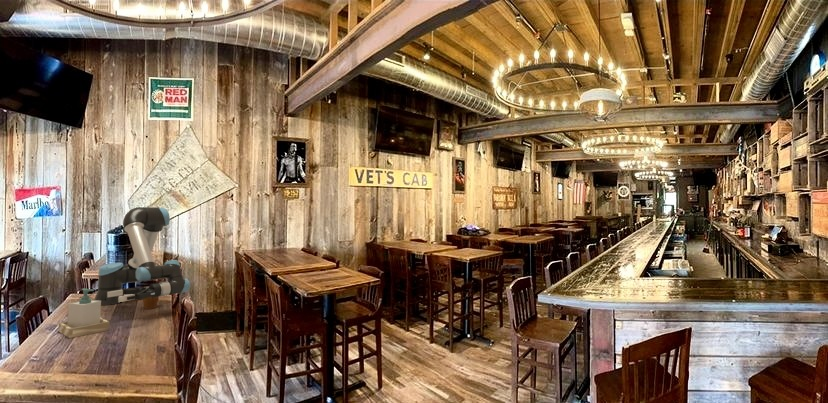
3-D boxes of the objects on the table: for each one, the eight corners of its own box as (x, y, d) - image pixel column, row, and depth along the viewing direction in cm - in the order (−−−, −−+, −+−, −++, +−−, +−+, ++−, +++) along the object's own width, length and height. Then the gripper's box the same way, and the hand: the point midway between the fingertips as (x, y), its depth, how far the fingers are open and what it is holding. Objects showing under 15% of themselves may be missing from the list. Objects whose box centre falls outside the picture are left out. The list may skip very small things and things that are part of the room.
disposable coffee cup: (152, 310, 226) (153, 289, 226) (136, 309, 226) (137, 288, 226) (163, 306, 235) (164, 286, 235) (148, 305, 235) (149, 285, 236)
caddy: (58, 331, 186) (58, 322, 186) (97, 324, 198) (97, 316, 198) (69, 338, 177) (69, 329, 177) (109, 330, 190) (109, 321, 190)
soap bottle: (81, 332, 183) (83, 291, 183) (67, 330, 185) (69, 289, 185) (100, 326, 191) (102, 287, 191) (86, 325, 193) (88, 286, 193)
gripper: (169, 300, 208) (123, 309, 191) (148, 292, 222) (103, 299, 204) (170, 286, 208) (123, 293, 190) (148, 279, 222) (103, 285, 204)
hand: (112, 297), depth 197 cm, fingers open, 13 cm apart
